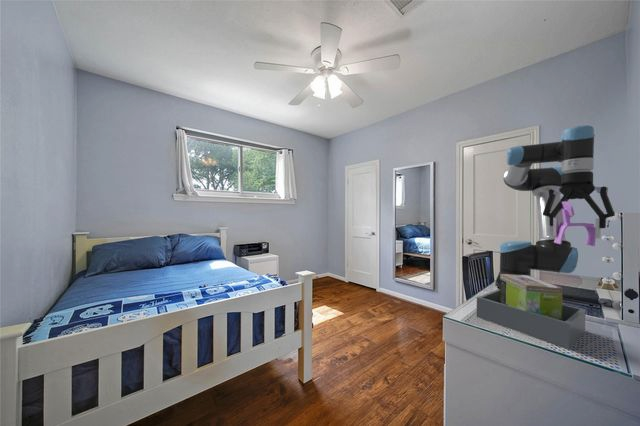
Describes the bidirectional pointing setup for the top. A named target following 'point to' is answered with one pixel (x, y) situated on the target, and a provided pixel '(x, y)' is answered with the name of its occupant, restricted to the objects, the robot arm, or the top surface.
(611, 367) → the top surface
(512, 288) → the tea box
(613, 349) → the top surface
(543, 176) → the robot arm
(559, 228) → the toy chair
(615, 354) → the top surface
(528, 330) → the crate
